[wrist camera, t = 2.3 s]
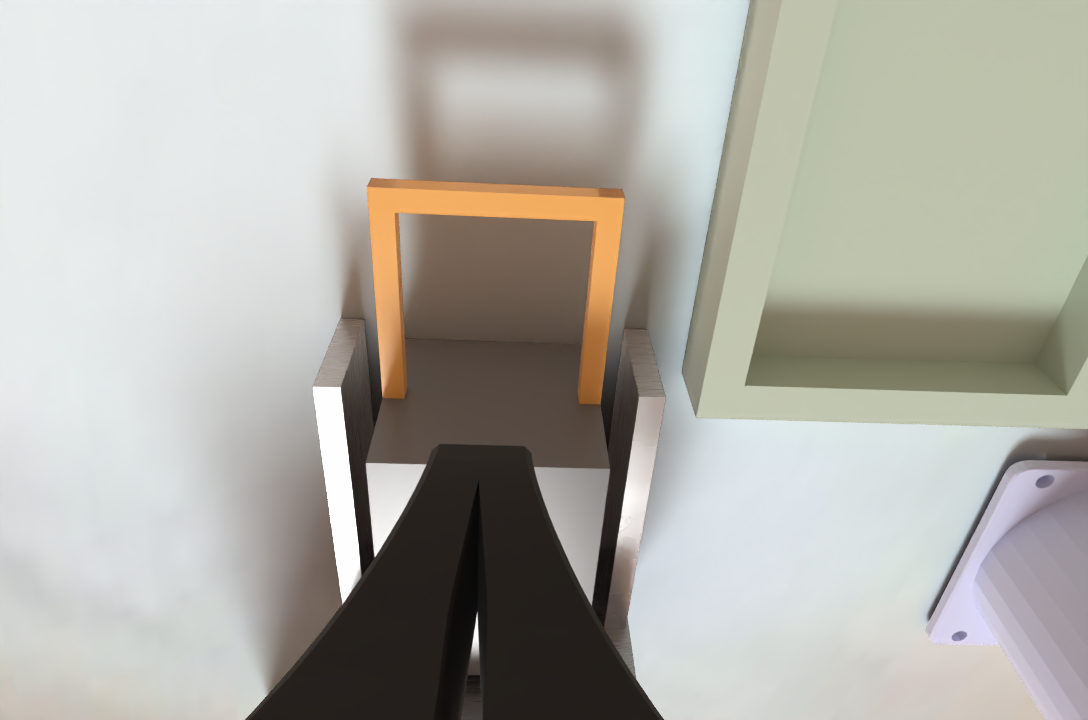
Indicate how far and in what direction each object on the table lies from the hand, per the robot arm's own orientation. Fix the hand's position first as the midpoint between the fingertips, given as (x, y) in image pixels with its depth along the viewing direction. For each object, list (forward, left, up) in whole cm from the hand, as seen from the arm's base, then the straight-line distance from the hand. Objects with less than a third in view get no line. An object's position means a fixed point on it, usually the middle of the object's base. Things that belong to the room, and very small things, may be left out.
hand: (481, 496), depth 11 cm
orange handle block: (0, +3, -9) cm, 9 cm away
